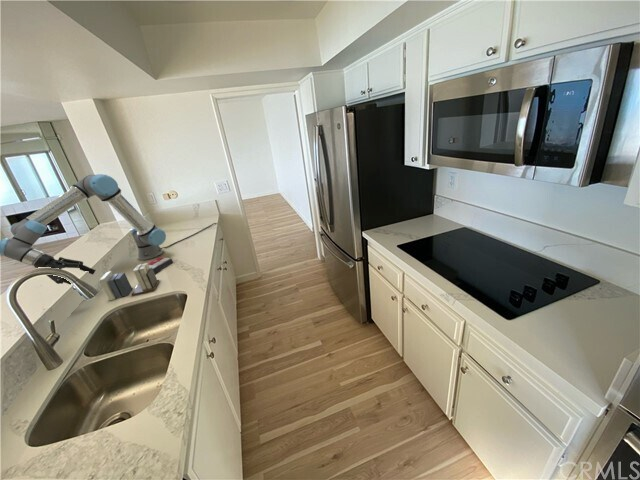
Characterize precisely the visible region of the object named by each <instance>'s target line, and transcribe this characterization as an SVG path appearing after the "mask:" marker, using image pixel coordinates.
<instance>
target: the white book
mask: <svg viewBox="0 0 640 480" xmlns="http://www.w3.org/2000/svg"><path fill="white" fill-rule="evenodd" d="M113 275H114V274H113V271H112V270H110V271H106V272H105V273H104V274H103V275H102V277H100V278H99V280H98V281H99V283H100V284H101V287H102V289H103V290H104V292H105V294H106V295H107V297H108V299H109V301H114V300H116V299H117V297H116V296H115V294H114V292H113V290H112V288H111V286H110V284H109V282H108V280H109V279H110V278H111V277H112V276H113Z"/></svg>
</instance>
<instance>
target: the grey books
mask: <svg viewBox="0 0 640 480" xmlns="http://www.w3.org/2000/svg"><path fill="white" fill-rule="evenodd" d="M108 282H109V284H110V286H111V288H112V290H113V292H114V294H115V296H116V299H119V298H123V297H127V296H129V295H130V293H131V292H132V290H133V287H132V285H131V282H130V281H129V279H128V277H127V274H126V273H125V272H119V273H115V274H113V276H112V277H111V278H110V279H109V280H108Z"/></svg>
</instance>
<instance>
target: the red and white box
mask: <svg viewBox="0 0 640 480" xmlns="http://www.w3.org/2000/svg"><path fill="white" fill-rule="evenodd" d="M147 263H148V265H149V267H150V268H152V269H153V271H154V274H155V275H156V274H157V273H160V272H161V270H162V269H164V268H166V267H168V266H169V265H171V264H173V258H170V257H156V259H154V260H152V261H149V262H147Z"/></svg>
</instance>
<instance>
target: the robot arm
mask: <svg viewBox="0 0 640 480" xmlns="http://www.w3.org/2000/svg"><path fill="white" fill-rule="evenodd" d="M93 196H96V197H97V198H98V199H99V200H100V201H101V202H102V203H107V204H108V205H110V206H111V207H112V209H114V211H116V212H117V213H118V214H119V215H120V216H121V217H123V219H124V220H125V221H126V222H127V223H128V224H129V225H131V226H132V228H130V234H131V235H132V238H133V240H134V242H135V245H136V247H137V252H138V253H137V256H138V259H139V260H141V261H148V260H152V259H155V258H158V257H160V256H161V255H162V254H163V253H164V251H163V249H167V248H169V247H172V246H173V245H175V244H178V243H179V242H182V241H185V240H186V239H189V238H191V237H192V236H195V235H197V234H199V233H200V232H202V231H204V230H206V229H208V228H210V227H212V226H213V225H217V224H218V223H217V222H213V223H212V224H209V225H208V226H206V227H205V228H203V229H201V230H199V231H197V232H195V233H193V234H191V235H189V236H186V237H184V238H182V239H179V240H177V241H175V242H173V243H171V244H169V245H167V246H163V247H160V246H161V245H163V244H164V243H165V242H166V239H167V234H166V232H165V231H164V230H163V229H161V228H158V227H157V225H156V224H154V222H150V221H148V220H147V219H146V218H145V216H144V215H143V214H141V212H140V211H138V210H137V209H136V208H135V207H134V205H133V204H132V203H131V202H130V201H129V200H128V199H127V198H126V197H125V196H124V195H123V194H122V189H121V188H120V187H119V184H118V182H117V181H116V180H115V179H114V178H113V177H112V176H110V175H107V174H102V173H97V174H88V175H85V176H83V177H82V178H81V179H79V180H78V181H76V182H75V183H74V184H72V185H71V186H70V189H68V190H67V191H65V192H64V193H62V194H60V195H59V196H58V197H56V198H55V199H53V200H51V201H50V202H48V203H47V204H45V205H43V206H42V207H41V208H39V209H38V210H36V211H35V212H33V213H32V214H30V215H28V216H26V217H25V218H24V219H22V220H20V221H19V222H15V223H12V225H11V226H10V227H9V232H10V233H11V234H12V235H13V237H11V238H7V237H6V238H3V239H1V240H0V255H1V256H4V257H6V258H8V259H11V260H15V261H17V262H20V263H23V264H25V265H28V266H31V267H34V268H36V269H38V267H51V268H59V269H60V270H62V269H65V268H67V269H79V270H80V271H82V272H85V271H89V273H88V274H90V275H95V272H96V271H97V270H96V269H94V268H91V267H89V266H87V265H85V264H84V261H81V260H78V259H77V260H75V259H70V258H66V257H62V256H60V257H58V259H55V257H54V256H53V255H51V254H48V253H45V252H43V251H41V250H38V249H36V248H33V245H34V244H36V242H37V241H38V240H39V239H40V238H41V237H42V236H43V235H44V234H45V232H46V231H47V229H48V227H47V225H48V224H50V223H51V222H52V221H54V220H56V219H57V218H59V217H60V216H61V215H63V214H64V213H66V212H67V211H69V210H70V209H72V208H73V207H75V206H76V205H78V204H79V203H80V202H81V201H84V200H88V199H90V198H91V197H93ZM46 277H48V278H49V279H50V280H52V281H53V282H54V283H56V284H58V285H60V284H62V285H63V284H64V283H65V284H67V285H71V283H70V282H69V281H67V280H66V279H64V278H61V277H58V276H53V275H46ZM71 286H72V285H71Z"/></svg>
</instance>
